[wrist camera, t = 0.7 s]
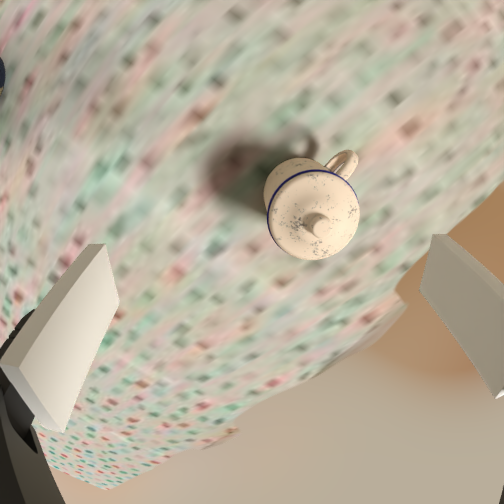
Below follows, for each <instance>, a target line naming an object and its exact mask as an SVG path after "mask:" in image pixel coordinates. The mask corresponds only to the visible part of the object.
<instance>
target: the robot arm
mask: <svg viewBox="0 0 504 504" xmlns="http://www.w3.org/2000/svg"><path fill="white" fill-rule="evenodd" d="M419 291H420V292H421V294H422V295H423V296H424V297H425V299H426V300H427V301H428V303H429V304H430V305H431V306H432V308H433V309H434V310H435V312H436V313H437V314H438V316H439V317H440V318H441V320H442V321H443V322H444V324H445V325H446V327H447V328H448V329H449V331H450V332H451V333H452V335H453V336H454V338H455V339H456V340H457V342H458V343H459V345H460V346H461V348H462V349H463V350H464V352H465V353H466V355H467V356H468V358H469V359H470V361H471V362H472V364H473V365H474V367H475V368H476V369H477V371H478V373H479V374H480V376H481V377H482V379H483V380H484V382H485V384H486V385H487V387H488V388H489V390H490V391H491V393H492V395H493V396H494V398H495V399H496V398H498V397H501V396H503V395H504V284H503V283H502V282H501V281H500V280H498V279H497V278H496V277H495V276H494V275H493V274H492V273H491V272H490V271H489V270H488V269H486V268H485V267H484V266H483V265H482V264H481V263H480V262H479V261H477V260H476V259H475V258H474V257H473V256H472V255H471V254H469V253H468V252H467V251H466V250H465V249H464V248H462V247H461V246H460V245H459V244H457V243H456V242H455V241H454V240H453V239H452V238H450V237H449V236H448V235H447V234H433V235H432V240H431V244H430V249H429V253H428V258H427V262H426V266H425V270H424V274H423V277H422V281H421V285H420V289H419ZM119 304H120V301H119V297H118V293H117V290H116V286H115V282H114V278H113V274H112V270H111V266H110V262H109V257H108V253H107V248H106V244H89V245H88V246H87V247H86V248H85V249H84V250H83V252H82V253H81V254H80V255H79V256H78V257H77V259H76V260H75V261H74V262H73V263H72V264H71V266H70V267H69V268H68V269H67V270H66V272H65V273H64V274H63V275H62V276H61V278H60V279H59V280H58V281H57V283H56V284H55V285H54V286H53V288H52V289H51V290H50V291H49V293H48V294H47V295H46V296H45V298H44V299H43V300H42V302H41V303H40V304H39V306H38V307H37V308H36V309H33V310H32V311H31V312H29V313H28V314H27V315H25V316H24V317H23V318H22V319H21V320H20V322H19V323H18V324H17V326H16V327H15V330H13V331H12V333H11V334H10V335H9V339H7V340H6V341H5V342H4V344H3V345H2V347H1V348H0V504H65V502H64V500H63V497H62V496H61V493H60V491H59V489H58V487H57V485H56V482H55V480H54V478H53V476H52V474H51V471H50V468H49V466H48V464H47V461H46V459H45V456H44V453H43V451H42V448H41V445H40V442H39V440H38V437H37V434H36V431H35V430H34V428H33V426H32V425H31V424H32V421H33V419H34V417H35V418H36V419H37V420H38V422H39V423H40V424H41V425H42V427H43V428H45V429H49V430H53V431H57V432H61V433H64V431H65V428H66V426H67V423H68V420H69V418H70V415H71V413H72V410H73V407H74V405H75V402H76V400H77V397H78V395H79V392H80V390H81V387H82V385H83V383H84V380H85V378H86V376H87V373H88V371H89V369H90V366H91V364H92V362H93V359H94V357H95V355H96V353H97V350H98V348H99V346H100V344H101V342H102V339H103V337H104V335H105V333H106V331H107V329H108V327H109V324H110V322H111V320H112V318H113V316H114V314H115V312H116V310H117V308H118V306H119ZM499 504H504V487H503V491H502V495H501V499H500V502H499Z"/></svg>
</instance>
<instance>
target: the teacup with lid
mask: <svg viewBox="0 0 504 504" xmlns="http://www.w3.org/2000/svg"><path fill="white" fill-rule="evenodd" d="M343 163H344V164H343ZM357 163H358V156H357V155H356V154H355V153H354V152H353V151H351V150H344V151H341V152H339V153H338V154H336V155H335V156H334V157H333V158H331V159H330V160H329V162H328V163H327V164H326V165H325V166H322V165H321V164H320V163H318V162H316V161H314V160H311V159H307V158H293V159H289V160H287V161H284V162H282V163H281V164H279V165H278V166H277V167H275V168H274V169H273V170H272V172H271V173H270V174H269V176H268V178H267V180H266V182H265V186H264V194H263V195H264V202H265V206H266V210H267V224H268V229H269V232H270V234H271V236H272V238H273V240H274V241H275V243H276V244H277V245H278V246H279V247H280V248H281V249H282V250H283V251H285V252H286V253H288V254H290V255H292V256H294V257H296V258H300V259H305V260H318V259H323V258H326V257H329V256H331V255H334V254H335V253H337V252H339V251H340V250H341V249H342V248H344V247H345V246H346V245H347V244H348V242H349V241H350V240H351V239H352V237H353V235H354V234H355V231H356V229H357V226H358V222H359V214H360V212H359V203H358V199H357V196H356V194H355V192H354V190H353V189H352V187H351V186H350V184H349V183H348V182H347V181H346V180H347V179H348V177H349V176H350V175H351V174H352V173H353V171H354V170H355V168H356V166H357ZM341 164H343V165H342V166H341V168H340V169H339V170H338V171H337V172H336V173H334V171H335V170H336V169H337V168H338V167H339V166H340V165H341Z"/></svg>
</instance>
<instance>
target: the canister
mask: <svg viewBox="0 0 504 504" xmlns="http://www.w3.org/2000/svg"><path fill="white" fill-rule="evenodd" d="M4 82H5V68H4V64H3V61H2V59H1V58H0V95H1V93H2V90H3V87H4Z"/></svg>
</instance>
